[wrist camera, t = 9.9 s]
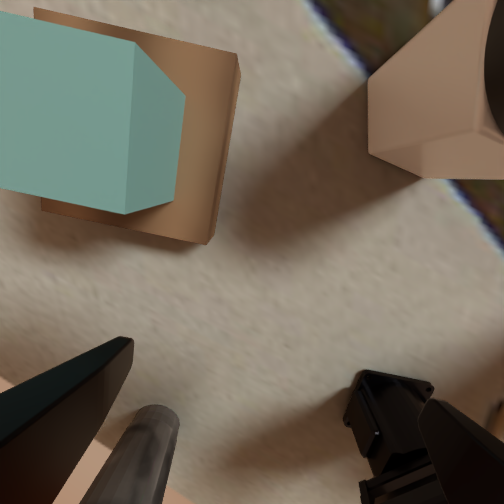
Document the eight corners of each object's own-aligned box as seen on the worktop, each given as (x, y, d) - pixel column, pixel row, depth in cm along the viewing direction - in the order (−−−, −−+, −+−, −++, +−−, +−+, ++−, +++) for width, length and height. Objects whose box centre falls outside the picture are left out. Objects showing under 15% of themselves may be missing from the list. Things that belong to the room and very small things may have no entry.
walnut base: (241, 75, 16) (236, 53, 14) (214, 235, 20) (205, 245, 17) (73, 36, 16) (33, 6, 13) (74, 205, 19) (41, 210, 17)
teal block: (185, 95, 14) (135, 42, 9) (173, 200, 16) (124, 214, 10) (80, 72, 14) (-43, 0, 8) (79, 180, 16) (-23, 183, 10)
